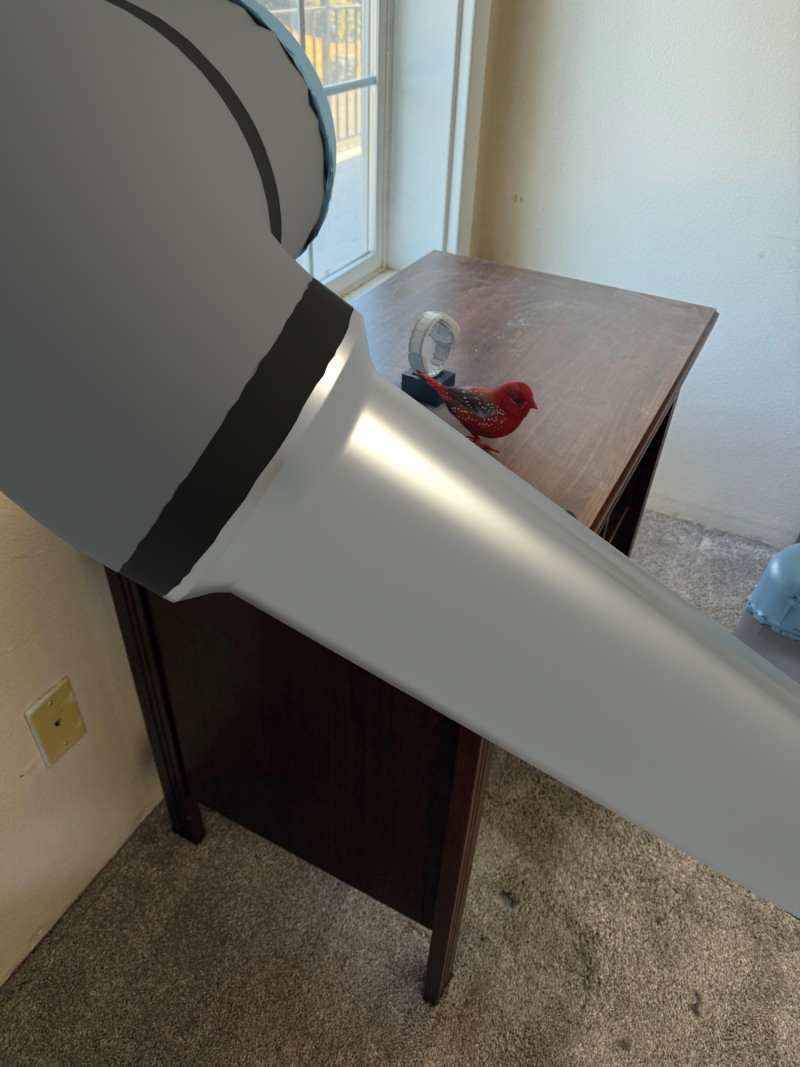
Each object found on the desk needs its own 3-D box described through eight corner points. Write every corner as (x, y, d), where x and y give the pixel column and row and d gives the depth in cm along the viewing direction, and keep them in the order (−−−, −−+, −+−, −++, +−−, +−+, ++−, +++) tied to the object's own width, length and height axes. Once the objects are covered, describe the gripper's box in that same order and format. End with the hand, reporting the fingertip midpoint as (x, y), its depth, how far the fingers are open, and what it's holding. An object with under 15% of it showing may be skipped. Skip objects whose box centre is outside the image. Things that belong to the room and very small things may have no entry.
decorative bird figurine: (520, 474, 84) (533, 395, 78) (405, 418, 93) (408, 342, 87) (535, 465, 86) (549, 386, 79) (420, 410, 95) (424, 335, 89)
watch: (461, 389, 100) (468, 309, 93) (429, 413, 94) (435, 330, 87) (425, 377, 102) (430, 299, 95) (392, 400, 97) (395, 318, 90)
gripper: (493, 797, 48) (307, 615, 61) (705, 627, 61) (516, 505, 74) (508, 725, 44) (303, 544, 56) (734, 557, 57) (527, 440, 69)
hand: (423, 522), depth 65 cm, fingers open, 13 cm apart
